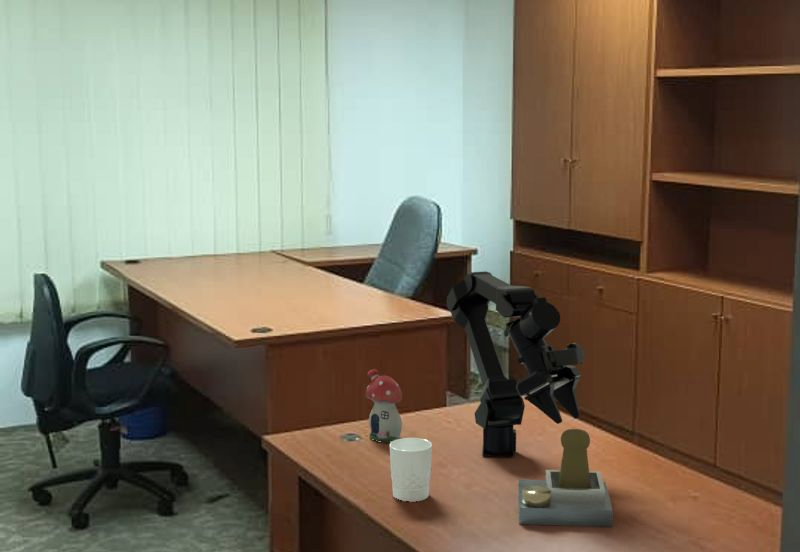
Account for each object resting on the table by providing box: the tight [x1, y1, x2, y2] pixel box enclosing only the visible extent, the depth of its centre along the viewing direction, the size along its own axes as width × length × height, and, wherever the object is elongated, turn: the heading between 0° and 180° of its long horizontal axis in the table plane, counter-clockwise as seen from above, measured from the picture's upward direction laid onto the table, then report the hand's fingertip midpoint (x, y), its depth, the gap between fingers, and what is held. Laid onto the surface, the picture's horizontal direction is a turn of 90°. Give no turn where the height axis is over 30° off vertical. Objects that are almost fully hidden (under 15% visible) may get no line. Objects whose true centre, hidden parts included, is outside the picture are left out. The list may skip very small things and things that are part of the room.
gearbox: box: [517, 469, 614, 528], centre depth 190 cm, size 16×14×5 cm
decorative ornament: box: [365, 368, 403, 443], centre depth 231 cm, size 9×7×15 cm
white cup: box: [389, 437, 433, 503], centre depth 197 cm, size 8×8×10 cm
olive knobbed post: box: [558, 428, 591, 489], centre depth 191 cm, size 6×6×11 cm
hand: (569, 420), depth 202 cm, fingers open, 9 cm apart
